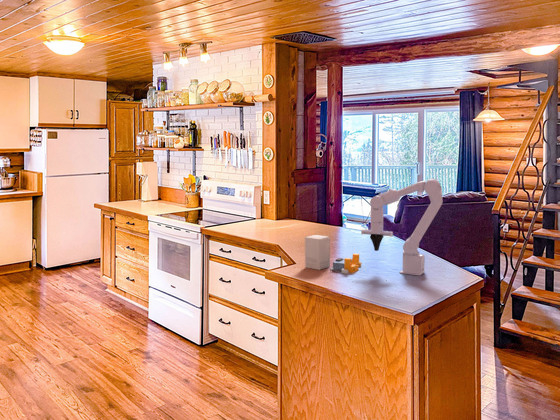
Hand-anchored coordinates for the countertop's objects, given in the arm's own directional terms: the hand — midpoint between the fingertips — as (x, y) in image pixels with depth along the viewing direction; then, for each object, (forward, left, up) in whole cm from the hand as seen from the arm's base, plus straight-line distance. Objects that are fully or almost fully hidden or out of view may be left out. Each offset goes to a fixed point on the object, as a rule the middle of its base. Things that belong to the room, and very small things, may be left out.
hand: (376, 250), depth 227 cm
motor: (+14, +5, -9) cm, 17 cm away
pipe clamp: (+10, +5, -10) cm, 14 cm away
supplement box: (+27, +8, -10) cm, 29 cm away
